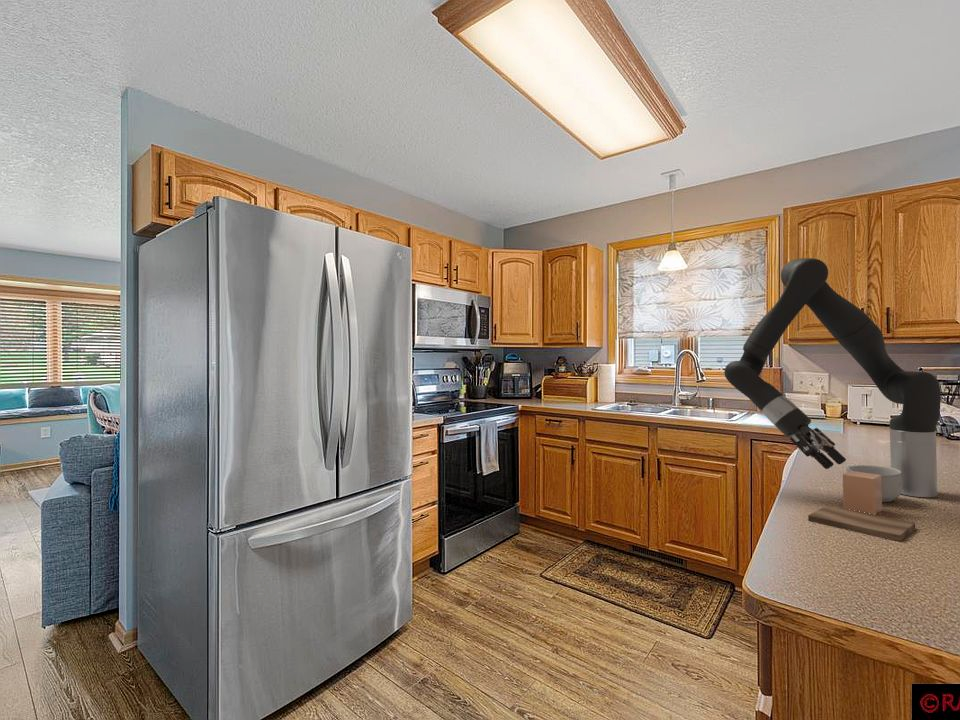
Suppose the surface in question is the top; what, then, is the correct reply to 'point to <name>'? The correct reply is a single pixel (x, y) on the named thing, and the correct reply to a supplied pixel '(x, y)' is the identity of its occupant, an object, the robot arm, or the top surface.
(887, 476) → the teacup
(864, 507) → the peach colored cube
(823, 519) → the board
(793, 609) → the top surface
